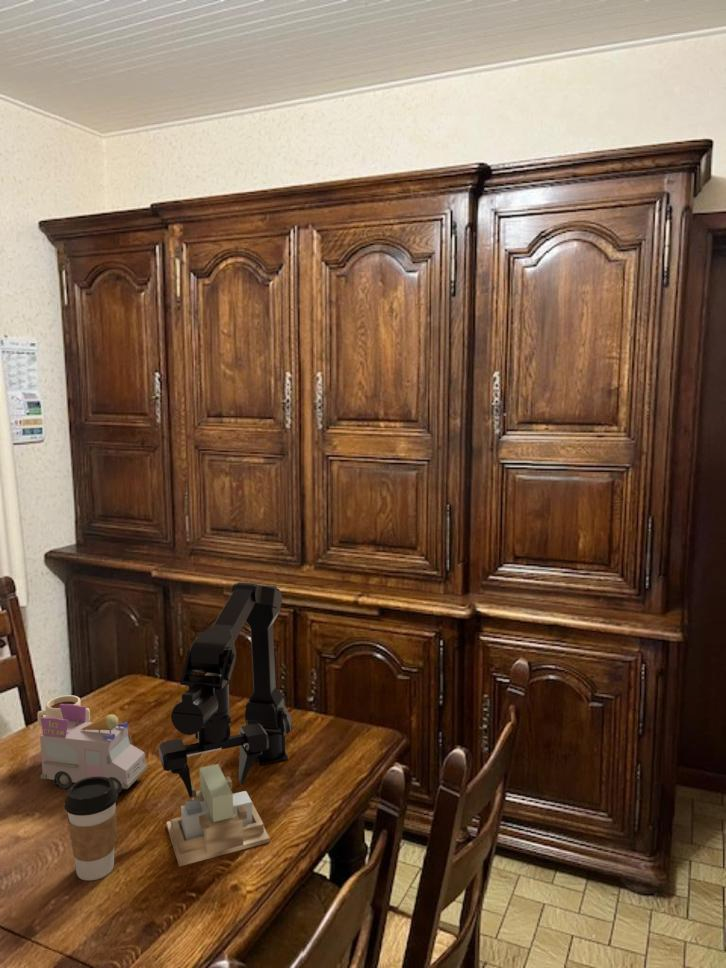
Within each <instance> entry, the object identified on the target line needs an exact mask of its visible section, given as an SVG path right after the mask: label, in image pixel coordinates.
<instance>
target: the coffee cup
mask: <svg viewBox="0 0 726 968" xmlns="http://www.w3.org/2000/svg"><path fill="white" fill-rule="evenodd" d="M66 792H67V793H66V797H65V800H64V805H63V806H64V810H65V812H67V815H68V816H67V824H68V830H69V837H70V841H71V842H70V843H71V848H72V854H73V857H74V863H75V864H74V865H75V872H76V875H77V877H78V878H79V879H81V880H83V881H96V880H99V879H102V878H104V877H107V875H109V874H110V873H111V872H112V871H113V868H114V865H115V845H116V830H117V829H116V827H117V825H116V824H117V806H116V803H117V801H118V797H119V793H118V794H117V790H116V788H115V786H114V782H113V781H112V780H111V779H109V778H106V777H98V776H97V777H89V778H85V779H82V780H80V781H78V782H73V784H72V785H71V786H70V787H68V788H67V791H66Z"/></svg>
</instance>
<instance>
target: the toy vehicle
mask: <svg viewBox="0 0 726 968" xmlns="http://www.w3.org/2000/svg"><path fill="white" fill-rule="evenodd" d="M60 708H61V712H62V716H63V719H64V720H63V719H59V718H46V717H44V716H42V718H41V723H42V725H41V729H42V734H41V735H40V736H39V738H40V739H39V740H40V752H41V753H40V754H41V756H40V757H41V769H42V770H41V771H42V773H41V774H40V779H41V780H52V782H53V784H52V785H54V786H56V785H58V787H59V788H61V789H69V788H70V787H71V786H72V785H73V784H74V783H76V782H78V781H80V780H82V779H85V778H89V777H97V776H98V777H106V778H109V779H111V780H112V781H113V782H114V786H115V788H116V790H117V794H118V795H119V794H120V793H121V792H122V791H123V790H128V789H129V788H130V787H131V786H132V785H133V784H134V783H135V782H136V781H137V780H138V779H139V778H140V777H141V776H142V775H143V773H144V772H146V770H147V769H148V764H146V752H144V751H143V750H142V749H139V747H137V746H135V745H133V744H132V735H131V734H130V736H129V731H128V728H129V721H126V722H123V723H119V718H118V717H117V715H116V714H112V713H110V714H107V715H105V716H103V717H102V718H99V719H98V720H95V721H94V722H91V721H90V722H86V708H87V706H85V705H81V706H79V705H73V704H67V705H64V704H60Z"/></svg>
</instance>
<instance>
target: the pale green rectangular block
mask: <svg viewBox="0 0 726 968" xmlns="http://www.w3.org/2000/svg"><path fill="white" fill-rule="evenodd" d="M225 777H226V776H225V775H224V773H223V771H222V769H221V767H220V764H219V763H217V764H211V765H207V766H202V767H199V786H200V788H199V790H200V791H201V793H202V796H203V798H204V801H205V803H206V805H207V808H208V810H209V813H210V815H211V817H212V820H213V822H217V821H221V820H225V819H229V818H233V794H234V793H233V791H232V789H230V787H229V785H228V783H227V781H226V779H225Z"/></svg>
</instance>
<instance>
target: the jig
mask: <svg viewBox="0 0 726 968" xmlns="http://www.w3.org/2000/svg"><path fill="white" fill-rule="evenodd" d="M224 777H225V779H226V781H227V783H228V785H229V787H230V789H231V790H232V789H233V781H232V779H231V776H224ZM191 786H192V797H191V798H190V799H191V800H196V799H199V802H201V801H204V798H203V796H202V793H201V791H200V789H199V790H197V789H196V788H197V787H196V786H195V784H191ZM187 794H188V793H187ZM188 796H189V794H188ZM259 814H260V813H258V811H257V809H256V807H255V805H254V802H252V824H249V825H245V826H243V819H247V811H246V809H245V807H244V805H242V806H238V807H237V814H235V815H233V818H229V819H225V820H221V821H217V822H213V820H211V821H209V820H208V818H207V815H206V814H205V815H201V816H199V824H200V826H201V829H202V830H203V829H204V836H202V837H198V838H194V839H190V840H186V841H185V839H184V836H183V833H182V817H181V816H180V817H179V816H178V817H174V818H171V819H170V821H166V828H167V831H168V835H169V837H170V838H169V839H170V841H171V844H172V848H173V851H174V854H175V857H176V861H177V865H178V867H183V866H186V865H190V864H194V863H197V862H201V861H205V860H208V859H211V858H216V857H220V856H224V855H227V854H231V853H235V852H239V851H241V850H245V849H249V848H253V847H254V848H255V847H257V846H260V845H263V844H265V845H266V844H268V843H270V842H271V838H270V836H269V834H268V832H267V830H266V827H265V826H264V825H265V824H264V823H263V822H264V821H263V820H262V818H261V816H260V815H259Z"/></svg>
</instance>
